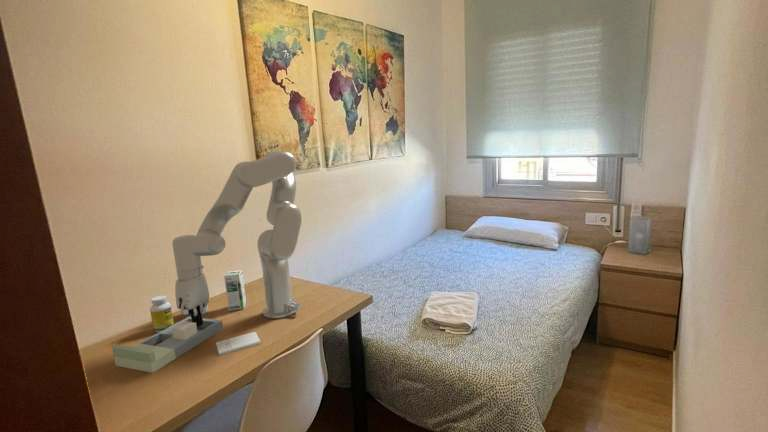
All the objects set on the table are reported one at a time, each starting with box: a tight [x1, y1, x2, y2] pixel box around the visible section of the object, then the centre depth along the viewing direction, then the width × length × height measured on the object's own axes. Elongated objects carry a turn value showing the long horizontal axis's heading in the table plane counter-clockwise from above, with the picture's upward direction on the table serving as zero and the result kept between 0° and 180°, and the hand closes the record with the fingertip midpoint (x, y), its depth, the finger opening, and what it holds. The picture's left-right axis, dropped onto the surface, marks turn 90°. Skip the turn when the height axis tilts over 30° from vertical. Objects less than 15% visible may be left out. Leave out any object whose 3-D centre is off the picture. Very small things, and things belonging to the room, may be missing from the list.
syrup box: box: [223, 269, 247, 312], centre depth 156 cm, size 6×6×14 cm
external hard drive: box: [215, 331, 261, 356], centre depth 127 cm, size 2×8×12 cm
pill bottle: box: [149, 295, 175, 333], centre depth 141 cm, size 6×6×12 cm
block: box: [172, 321, 198, 340], centre depth 129 cm, size 5×5×4 cm
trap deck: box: [111, 316, 224, 374], centre depth 128 cm, size 15×28×6 cm, turn 160°
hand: (197, 325), depth 134 cm, fingers closed
